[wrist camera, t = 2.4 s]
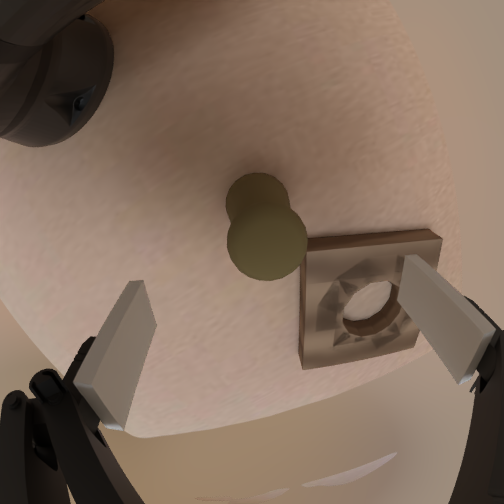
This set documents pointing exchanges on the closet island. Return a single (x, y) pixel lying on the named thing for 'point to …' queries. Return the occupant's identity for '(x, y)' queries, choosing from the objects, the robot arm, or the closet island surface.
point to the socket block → (349, 282)
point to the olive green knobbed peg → (264, 228)
